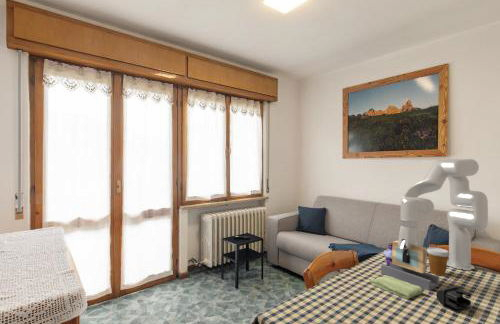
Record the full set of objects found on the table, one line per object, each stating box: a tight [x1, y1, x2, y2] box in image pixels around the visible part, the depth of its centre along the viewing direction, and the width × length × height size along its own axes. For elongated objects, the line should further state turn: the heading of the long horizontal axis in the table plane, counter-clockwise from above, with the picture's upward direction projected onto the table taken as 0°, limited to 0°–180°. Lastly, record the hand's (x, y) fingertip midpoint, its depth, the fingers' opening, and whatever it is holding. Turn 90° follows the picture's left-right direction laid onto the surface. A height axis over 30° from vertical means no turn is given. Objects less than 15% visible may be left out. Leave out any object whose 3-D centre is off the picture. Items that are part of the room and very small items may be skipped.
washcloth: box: [370, 275, 424, 300], centre depth 118 cm, size 13×18×3 cm
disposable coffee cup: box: [427, 246, 449, 276], centre depth 136 cm, size 10×10×12 cm
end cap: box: [435, 285, 472, 313], centre depth 104 cm, size 10×7×7 cm
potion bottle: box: [383, 242, 392, 267], centre depth 146 cm, size 9×9×12 cm
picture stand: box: [380, 262, 440, 292], centre depth 128 cm, size 10×22×4 cm, turn 33°
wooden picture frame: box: [391, 240, 428, 273], centre depth 128 cm, size 4×14×11 cm, turn 33°
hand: (408, 261), depth 128 cm, fingers closed on wooden picture frame, 4 cm apart
